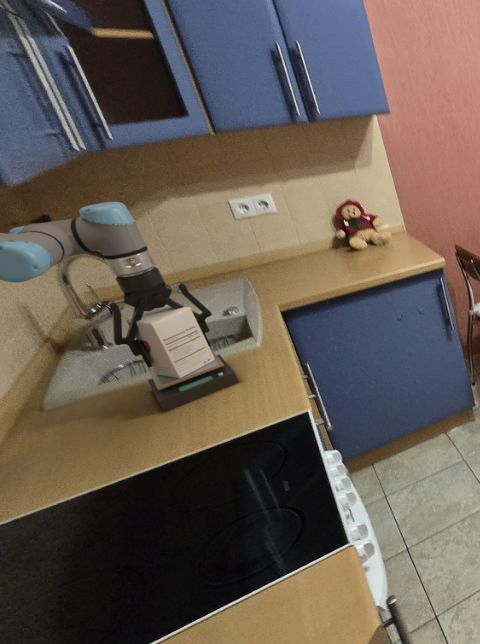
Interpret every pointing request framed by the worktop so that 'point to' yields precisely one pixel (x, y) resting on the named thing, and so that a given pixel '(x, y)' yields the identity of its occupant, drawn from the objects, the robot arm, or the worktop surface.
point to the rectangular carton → (173, 341)
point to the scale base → (194, 387)
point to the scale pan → (168, 381)
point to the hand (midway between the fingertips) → (179, 354)
